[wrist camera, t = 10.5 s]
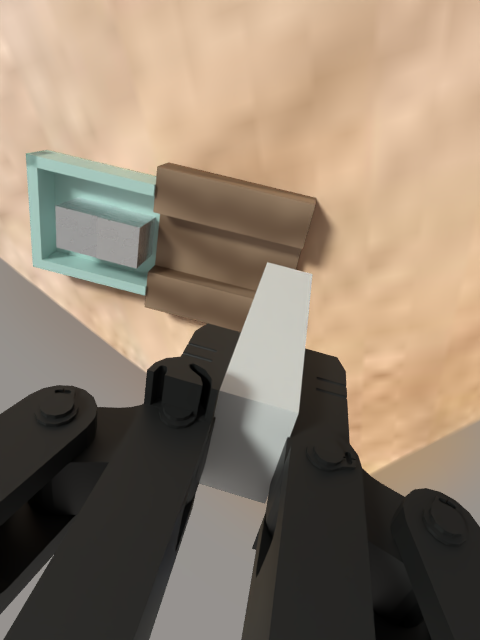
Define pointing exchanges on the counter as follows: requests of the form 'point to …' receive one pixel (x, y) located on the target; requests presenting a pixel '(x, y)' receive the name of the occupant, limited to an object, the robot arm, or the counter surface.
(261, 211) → the slot board
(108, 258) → the grey wood-grain cube
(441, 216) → the counter surface
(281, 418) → the robot arm
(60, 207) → the grey cube-shaped block
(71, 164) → the tray
